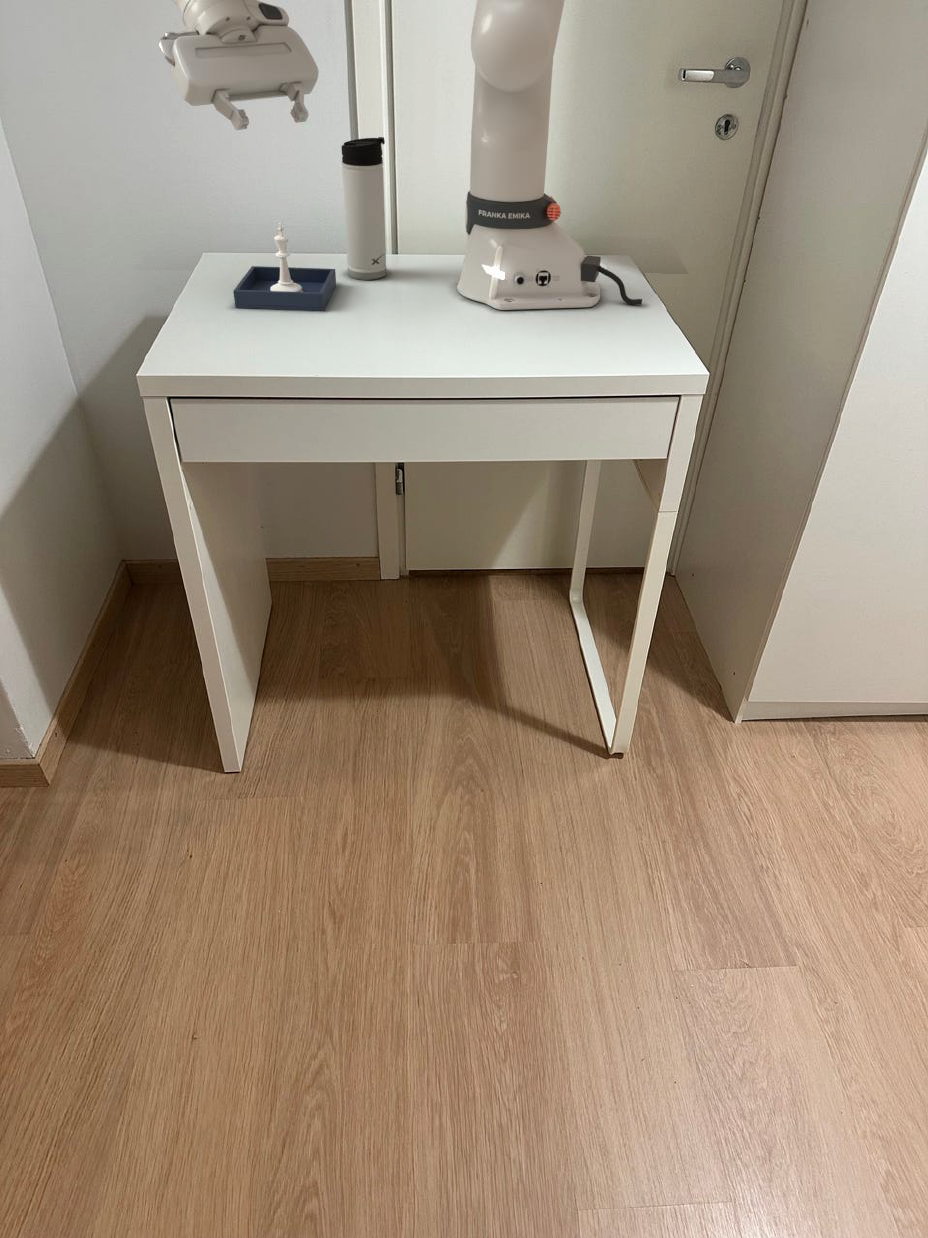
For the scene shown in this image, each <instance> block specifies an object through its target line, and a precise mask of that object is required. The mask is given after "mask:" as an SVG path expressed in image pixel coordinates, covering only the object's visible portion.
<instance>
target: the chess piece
mask: <svg viewBox="0 0 928 1238" xmlns="http://www.w3.org/2000/svg"><path fill="white" fill-rule="evenodd" d="M284 230H285V228H284V226H283V225H282V222H278V223H277V228H276V233H278V234H277V235H275V236H274V242H275V244H276V247H277V249H278V251H277V252H275V257H277V258H279V267H280V280H279V281H278V283H277V284H275V285H273V286H272V287H271V288H270V290H271V291H287V292H303V291H302V287H301V286H300V285H299V284H296V283H293V280H291V278H290V274H289V269H288V267H289V265H288V259H287V258H288V257H290V256H291V254H290V252H289V251H287V246H288V241H289V237H288V236H287V235H285V234H284V233H283V231H284Z"/></svg>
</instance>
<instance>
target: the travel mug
mask: <svg viewBox="0 0 928 1238" xmlns="http://www.w3.org/2000/svg"><path fill="white" fill-rule="evenodd" d="M385 144H386V141H385V137H384V136H379V137H364V138H363V137H362V138H357V139H352V140H348V141H345V142H344V143H343V144H342V145H341V147H340V148H341V165H342V168H341V171H342V172H341V173H342V186H343V187H342V188H343V189H342V190H343V205H344V224H345V241H346V242H345V243H346V255H347V256H346V259H347V274H348V276H349V277H351V278H353V279H356V280H359V281H361V280H362V281H373V280H380V279H382V278H384V277H385V276H386V275H387V253H386V251H387V250H386V249H387V247H386V218H385V187H384V186H385V184H384V182H385V181H384V161H383V148H382V145H385Z"/></svg>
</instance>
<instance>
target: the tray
mask: <svg viewBox="0 0 928 1238" xmlns="http://www.w3.org/2000/svg"><path fill="white" fill-rule="evenodd" d="M288 269H289V274H290V278H291V280H293V283H296V284H299V285H300V286H301V287H302V291H303V292H287V291H271V290H270V288H271V287H272V286H273V285H275V284H277V283H278V281H279V280H280V266H265V265H264V266H262V265H261V266H259V265H252V266H251V267H250V268H249V269H248V271H247V272H246V273H245V275H244V276H243V277H242V278H241V280H239V283H238V284H237V285H236V287H234V289H233V290H232V292H233V300H234V307H235V309H254V310H255V309H257V310H259V309H260V310H282V311H283V310H285V311H286V310H287V311H313V312H315V311H316V312H325V309H326V307H327V306H328V302H329V301H330V299H331V297H332V295H333V293H334V290H335V288H336V287H337V278H336V277H337V275H336V268H322V267H321V268H320V267H319V268H318V267H316V268H315V267H290V266H288Z"/></svg>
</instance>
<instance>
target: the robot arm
mask: <svg viewBox="0 0 928 1238" xmlns="http://www.w3.org/2000/svg"><path fill="white" fill-rule="evenodd" d="M171 1H172V2H173V4H174V5H175V6H176V7H178V9H179V11H180V15H181V20H182V23H183V24H184V27H185V29H186V30H184V31H178V32H177V31H176V32H175V31H167V32H165V33H164V35H163V36H162V37H160V39H159V41H158V46H159V51H160V52H161V53H162V56H163V57H164V60H165V61H166V62H167V63H168V64H169V67H170V70H171V73H172V76H173V80H174V82H175V84H176V88H177V89H178V92H179V94H180V95H181V98H182V100H183V101H185V102H186V103H187V104H188V105H190V106H192V107H199V106H207V105H208V106H209V105H213V106H214V108H215V110H216V111H217V112H218V113H220V114H221V115H222V116H224V117H225V118H226V119H228V120H230V122H231V124H232V126H233V127H234V130H236V131H241V130H247V129H248V126H249V124H250V120H249V117H248V116H247V115H246V114H247V113H246V111H245V109H244V108H243V109H238V107H236V106H235V105H234V104H233V103H235V102H246V101H255V100H264V99H265V100H266V99H275V98H283V97H288V99H289V101H290V102H294V103H293V106H292V108H291V110H290V112H289V113H290V115H291V117H292V118H293V121H294V123H305V122H307V121H308V118H309V111H308V109H307V107H306V106H305V95H309V94H311V93H312V92H313V90H314V88H315V86H316V83H317V82H318V79H319V71H320V70H319V68H318V65H317V62H316V61H315V59H314V57H313V55H312V53H311V52H310V50H309V48H308V46H307V45H306V43H305V41H304V40H303V38H302V36H300V34H299V33H298V32H297V31H296V30H295V29H293V28H292V27H290V26H289V23H290V17H289V14H288V12H287V11H286V10H285V9H284V8H283V7H280V6H277V5H273V4H270V3H266V2H263V1H260V0H171ZM564 6H565V0H476V4H475V10H474V17H473V22H472V28H471V34H470V51H471V56H472V60H473V63H474V84H473V100H472V101H473V104H472V105H473V107H472V119H471V130H470V133H471V135H470V171H469V172H470V173H469V191H468V192H467V195H466V200H465V226H464V227H465V231H466V233H467V235H466V244H465V251H464V258H463V263H462V268H461V272H460V276H459V280H458V283H457V286H456V289H457V292H458V293H459V294H460V295H461V296H463V297H465V298H467V299H470V300H472V301H476V302H479V303H483V304H486V305H488V306H489V307H491V308H494V309H496V310H500V311H511V310H512V311H513V310H542V309H543V310H545V309H573V308H575V309H577V308H591V307H593V306H595V305H597V304H598V303H599V301H600V300H601V289H600V285H599V283H598V281H597V278H598V276H599V274H602V275H604V276H606V277H607V278H610V279H611V280H612V281H613V282H614V283H616V285H617V286H618V289H619V295H620V298H621V299H622V301H623V303H625V304H627V305H629V306H630V305H631V306H634V305H635V306H637V305H642V304H643V298H629V297H628V295H627V292H626V287H625V284H624V282H623V280H622V279H621V278H620V277H619V276H618V275H616V273H614V272H612V271H610V270H608V269H606V268H604V267H603V266H601V259H602V258H601V256H599V255H598V256H597V255H590V254H589V255H588V254H587V255H586V253H585V251H584V249H583V247H582V246H581V245H580V244H579V243H578V242H577V241H576V240H575V239H574V238H573V237H571V236H570V235H569V234H568V233H567V231H565V230H564V229H563V228H562V227H561V226H560V225H558V223H556V222H555V221H557V220H559V218H560V217H561V215H562V210H561V207H560V205H559V204H558V202H557V201H556V200H555V199H554V198H553V196H551V195H550V196H549V195H548V194H546V193H545V183H546V169H547V157H548V156H547V155H548V145H549V131H550V111H551V95H552V81H553V67H554V66H553V65H554V55H555V51H556V46H557V41H558V35H559V31H560V26H561V20H562V16H563V11H564Z"/></svg>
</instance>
